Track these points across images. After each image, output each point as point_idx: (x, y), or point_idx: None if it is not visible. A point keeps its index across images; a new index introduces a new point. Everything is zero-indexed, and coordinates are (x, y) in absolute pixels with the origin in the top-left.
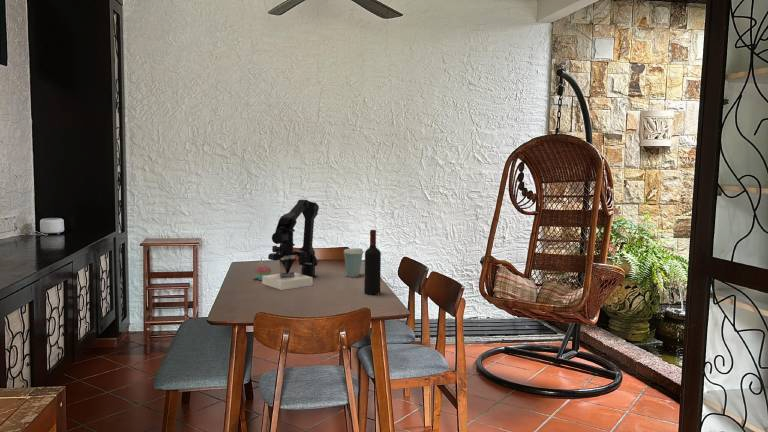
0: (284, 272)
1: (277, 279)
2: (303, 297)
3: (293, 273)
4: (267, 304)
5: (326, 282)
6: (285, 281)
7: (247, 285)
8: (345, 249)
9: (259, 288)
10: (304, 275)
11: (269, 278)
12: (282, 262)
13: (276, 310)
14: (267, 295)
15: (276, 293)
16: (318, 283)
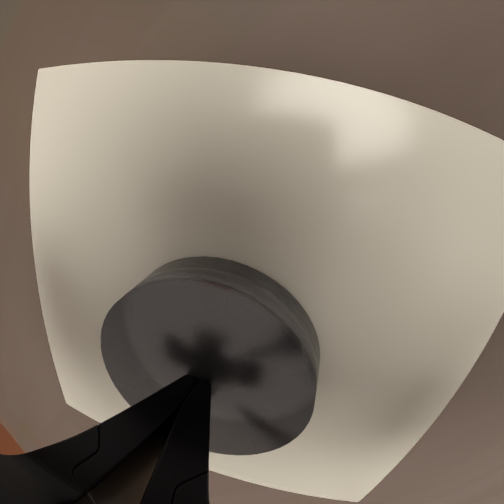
0: (165, 355)
1: (65, 343)
2: None
3: (234, 451)
4: (11, 412)
5: (488, 443)
6: (97, 418)
7: (17, 68)
8: None
9: (20, 217)
10: (408, 439)
11: (34, 236)
12: (27, 460)
13: (24, 445)
14: (20, 363)
15: (56, 380)
16: (442, 438)
